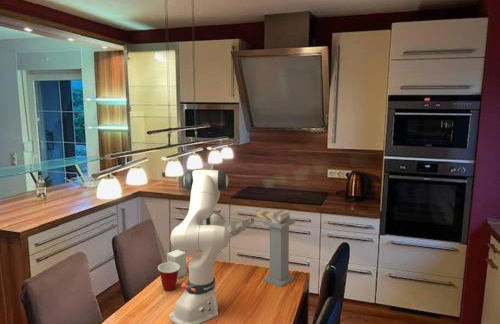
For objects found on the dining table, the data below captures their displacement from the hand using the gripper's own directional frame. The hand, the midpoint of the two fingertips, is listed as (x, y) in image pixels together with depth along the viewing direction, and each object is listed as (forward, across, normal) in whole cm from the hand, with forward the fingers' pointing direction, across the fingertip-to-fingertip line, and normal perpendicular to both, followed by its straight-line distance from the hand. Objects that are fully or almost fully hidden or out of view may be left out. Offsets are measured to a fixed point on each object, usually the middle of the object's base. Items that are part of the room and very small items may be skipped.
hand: (248, 221), depth 200 cm
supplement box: (-36, -30, +12) cm, 48 cm away
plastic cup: (-28, -42, +16) cm, 53 cm away
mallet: (+15, 0, +4) cm, 16 cm away
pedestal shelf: (+4, 0, +34) cm, 35 cm away
